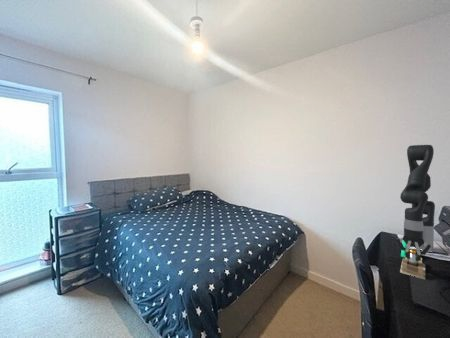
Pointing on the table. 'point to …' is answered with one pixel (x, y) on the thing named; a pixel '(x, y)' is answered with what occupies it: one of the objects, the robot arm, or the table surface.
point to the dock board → (413, 269)
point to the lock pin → (412, 257)
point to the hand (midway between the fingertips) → (412, 259)
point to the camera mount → (403, 250)
